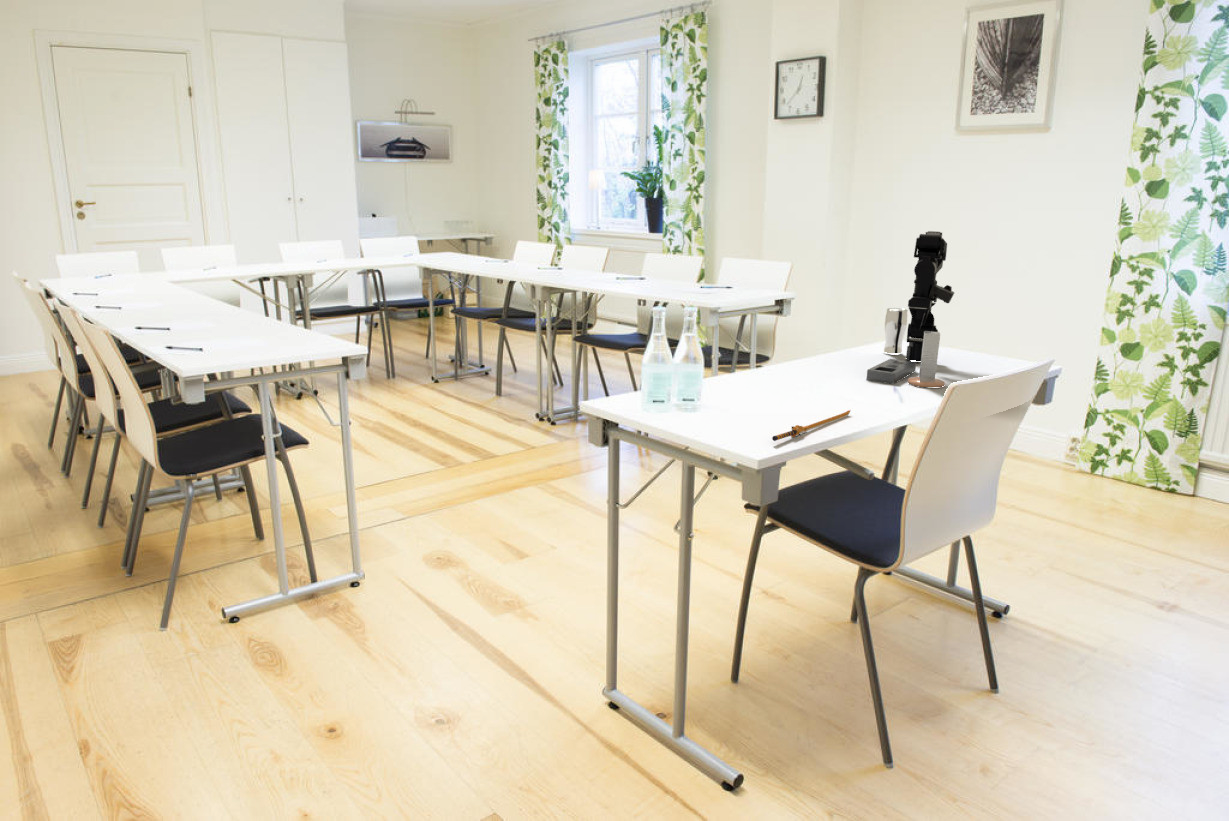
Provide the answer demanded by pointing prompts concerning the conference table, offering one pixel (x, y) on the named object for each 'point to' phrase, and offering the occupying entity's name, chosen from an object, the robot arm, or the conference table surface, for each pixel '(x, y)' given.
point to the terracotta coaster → (916, 382)
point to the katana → (809, 427)
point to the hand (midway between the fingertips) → (919, 327)
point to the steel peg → (929, 356)
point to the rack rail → (891, 371)
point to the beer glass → (895, 329)
